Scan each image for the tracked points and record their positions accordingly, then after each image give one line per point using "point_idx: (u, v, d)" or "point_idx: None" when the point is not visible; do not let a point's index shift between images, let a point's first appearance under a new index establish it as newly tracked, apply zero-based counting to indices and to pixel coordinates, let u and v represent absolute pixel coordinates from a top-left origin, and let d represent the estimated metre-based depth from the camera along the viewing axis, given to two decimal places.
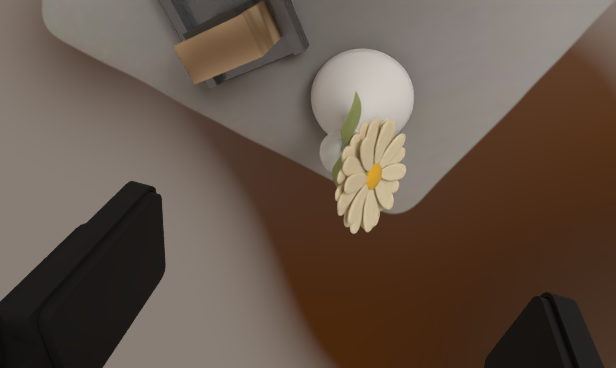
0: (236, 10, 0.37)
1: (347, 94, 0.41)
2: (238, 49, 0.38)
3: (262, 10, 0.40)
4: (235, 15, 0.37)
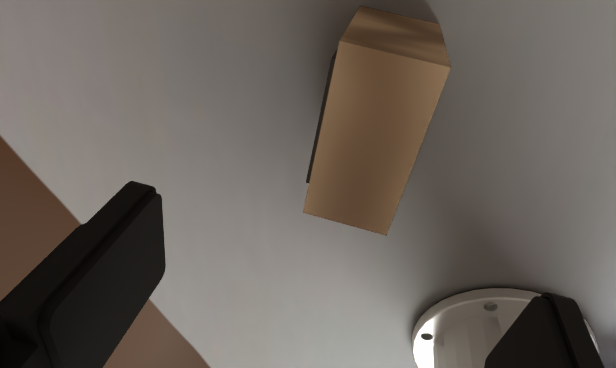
0: None
1: None
2: None
3: None
4: None
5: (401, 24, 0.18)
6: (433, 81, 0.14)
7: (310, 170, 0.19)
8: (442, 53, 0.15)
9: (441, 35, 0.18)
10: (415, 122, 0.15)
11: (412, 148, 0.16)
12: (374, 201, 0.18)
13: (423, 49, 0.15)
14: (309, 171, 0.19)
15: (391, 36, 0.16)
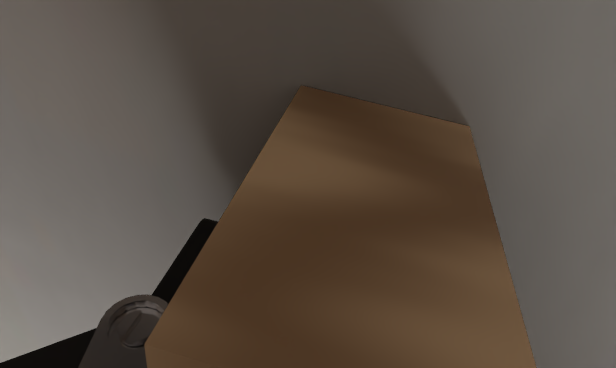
0: None
1: None
2: None
3: None
4: None
5: (385, 150, 0.08)
6: None
7: None
8: (506, 315, 0.05)
9: (482, 183, 0.07)
10: None
11: None
12: None
13: (447, 303, 0.05)
14: None
15: (353, 231, 0.06)
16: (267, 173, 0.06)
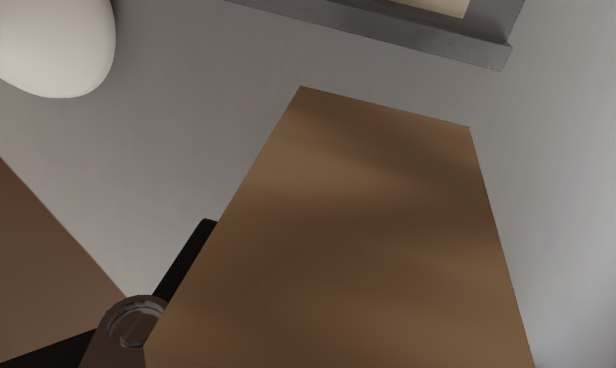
0: None
1: (16, 27, 0.22)
2: None
3: None
4: None
5: (385, 151, 0.08)
6: None
7: None
8: (505, 316, 0.05)
9: (481, 184, 0.07)
10: None
11: None
12: None
13: (446, 305, 0.05)
14: None
15: (352, 232, 0.06)
16: (266, 174, 0.06)
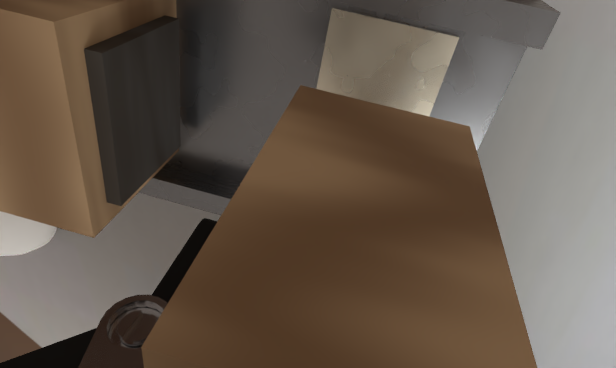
0: None
1: None
2: (20, 180, 0.15)
3: None
4: (109, 201, 0.16)
5: (385, 150, 0.08)
6: None
7: None
8: (507, 317, 0.05)
9: (482, 184, 0.07)
10: None
11: None
12: None
13: (448, 305, 0.05)
14: None
15: (352, 232, 0.06)
16: (266, 173, 0.06)
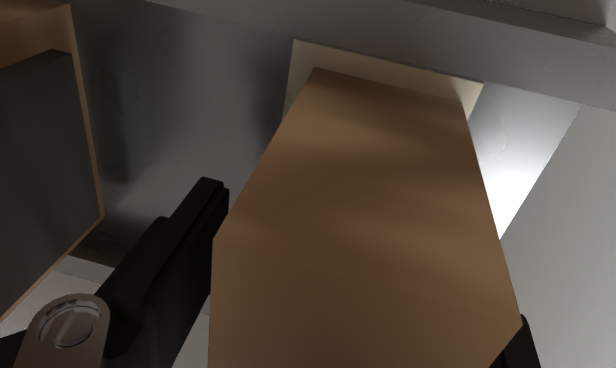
0: None
1: None
2: None
3: None
4: None
5: (389, 118, 0.09)
6: (470, 343, 0.05)
7: None
8: (486, 234, 0.06)
9: (471, 145, 0.09)
10: None
11: None
12: None
13: (439, 225, 0.06)
14: None
15: (364, 175, 0.07)
16: (291, 132, 0.08)
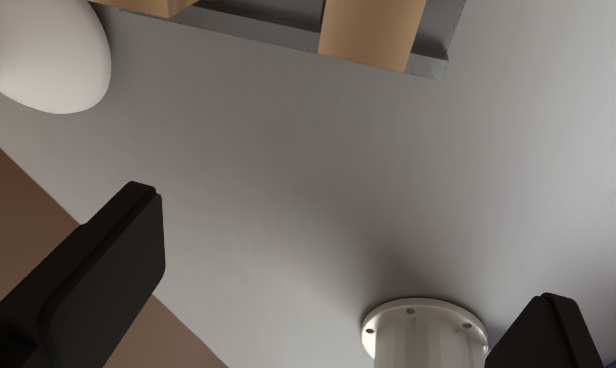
0: None
1: (26, 60, 0.25)
2: None
3: None
4: None
5: None
6: None
7: (324, 8, 0.18)
8: None
9: None
10: None
11: None
12: (391, 30, 0.17)
13: None
14: (322, 9, 0.18)
15: None
16: None
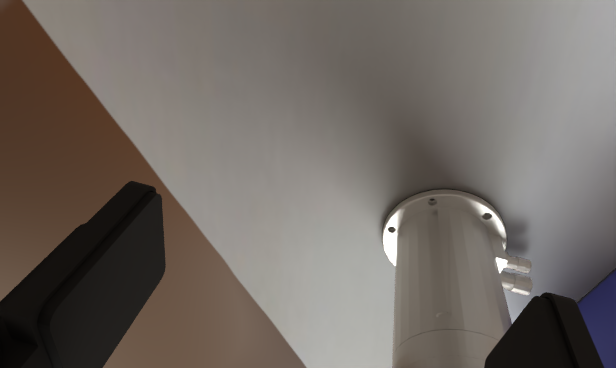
0: None
1: None
2: None
3: None
4: None
5: None
6: None
7: None
8: None
9: None
10: None
11: None
12: None
13: None
14: None
15: None
16: None
